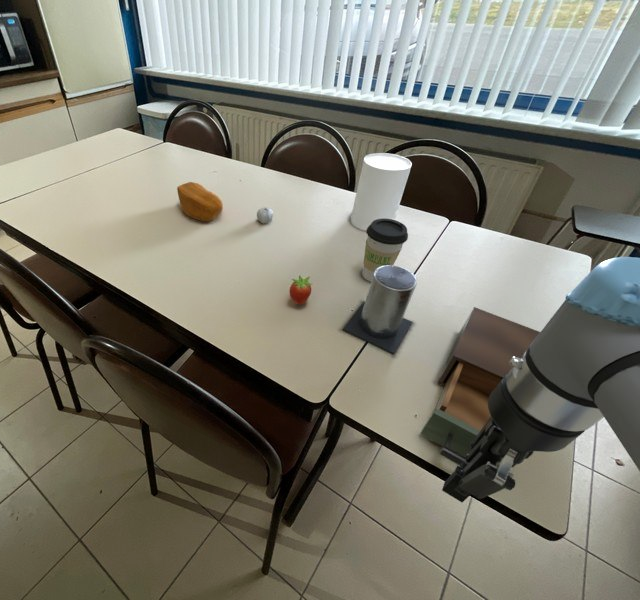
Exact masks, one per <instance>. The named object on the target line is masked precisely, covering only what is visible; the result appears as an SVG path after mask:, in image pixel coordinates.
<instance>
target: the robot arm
mask: <svg viewBox="0 0 640 600" xmlns="http://www.w3.org/2000/svg"><path fill="white" fill-rule="evenodd" d="M564 299H565V300H564V301H563V302H562V304H561V305H560V306H559V307H558V309H557V310H556V312H555V313H554V314H553V315H552V316H551V318H550V319H549V320H548V322H547V323H546V324H545V325H544V327H543V328H542V329H541V331H539V332H540V333H539V335H538V336H537V337H536V338H535V340H534V341H533V342H532V344H531V345H530V346H529V347H528V349H527V350H526V351H525V353H524V355H523V357H522V358H521V359H520V358H517V357H512V358H511V360H510V361H509V363H510V365H511V366H513V368H512V369H511V370H510V372H509V373H508V375H507V376H505V377H504V378H503V379H502V380H501V382H500V383H499V384H498V385H497V387H496V388H495V389H494V390H493V392H492V393H491V394H490V396H489V399H488V410H489V413H490V415H491V417H490V418H489V419H488V421H487V422H486V424H485V425H484V426H483V428H482V429H481V431H480V432H479V433H478V435H477V436H476V438H475V439H474V440H473V442H471V444H470V448H471V449H472V450H471V451H470V452H469V453H468V454H467V455H466V456H465V461H466V463H464V462H462V463H461V464H460V465H456V467H455V469H454V471H453V472H452V473H451V474H450V475H449V477H448V478H446V480H445V481H444V483H443V486H442V489H441V491H442V492H444V493H445V494H447V495H449V496H450V497H452V498H453V499H455V500H457V501H458V502H460V503H463V502H465V501H466V500H467V499H468V498H469V497H470V496H471V495H472V496H474V497H475V498H477V499H479V500H482V499H485V498H486V497H489V496H491V495H493V494H495V493H498V492H500V491H502V490H504V489H505V490H508V491H512V490H513V489H515V486H516V480H515V479H514V473H512V472H510V471H511V470H512V469H513V468H514V467H515V466H516V465H519V464H521V463H523V462H524V460H527V459H529V458H530V457H531V456H532V455H533V454H534V452H543V453H544V452H545V453H552V452H559V451H560V450H563V449H565V448H566V447H567V446H568V445H570V444H571V443H573V442H574V441H575V440H576V439H577V438H579V437H580V436H582V434H584V433H585V431H587V430H588V429H590V428H592V427H593V426H595V425H596V424H598V422H600V421H601V420H602V419H603V418H604V420H605V421H606V422H607V424H608V425H609V427H610V428H611V430H612V431H613V433H614V435H615V436H616V438H617V439H618V441H619V443H621V445H622V447H623V448H624V449H625V451H626V453H627V454H628V456H629V458H630V459H631V461H632V462H633V463H634V465H635V467H636V468H637V470H638V471H639V472H640V257H632V256H619V257H613V258H609V259H606V260H604V261H602V262H599V263H598V264H597V265H596V266H595V267H594V268H593V269H592V270H591V271H590V272H588V274H587V275H586V276H585V277H584V278H583V279H582V280H581V281H580V282H579V283H578V284H577V285H576V286H575V287H574V288H573V289H572V290H571V291H570V292H568V293H567V294H566V295H565V298H564Z"/></svg>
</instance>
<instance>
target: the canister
mask: <svg viewBox="0 0 640 600" xmlns="http://www.w3.org/2000/svg"><path fill="white" fill-rule="evenodd" d="M412 165H413V163H412V161H411V160H410V159H409V158H406V157H405V156H402V155H400V154H394V153H389V152H388V153H387V152H375V153H374V152H373V153H369V154H366V155H365V156H364V157H363V161H362V165H361V170H360V174H359V179H358V183H357V188H356V193H355V197H354V201H353V206H352V211H351V214H350V215H351V216H350V223H351V224H352V225H353V226H354V227H355V228H357V229H358V230H359V229H360V230H361V231H364V232H366V231H367V228H368V226H369V225H371V223H372V222H373V221H374V220H377V219H392V220H396V217H397V213H398V210H399V207H400V204H401V201H402V197H403V194H404V191H405V188H406V185H407V182H408V179H409V175H410V173H411V168H412Z"/></svg>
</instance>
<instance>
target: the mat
mask: <svg viewBox="0 0 640 600" xmlns="http://www.w3.org/2000/svg"><path fill="white" fill-rule="evenodd" d="M365 301H366V300H365ZM365 301H362V303H361V304H360V305H359V307H358V308H357V310H355V312H353V314H352V316H351V317H350V318H349V320H348V321H347V323H346V324H345V325H344V326H343V328H342V331H343V332H345V333H346V334H349V335H351V336H353V337H355V338H357V339H360V340H361V341H364V342H366V343H368V344H370V345H372V346H374V347H377V348H378V349H381V350H383V351H385V352H386V353H389V354H391V355H395V354H396V352H397V350H398V348H399V347H400V345H401V343H402V342H403V340H404V338H405V337H406V335H407V333H408V331H409V329H410V328H411V326H412V324H413V321H412V320H409V319H407V318H405V317H403V319H402V321H401V324H400V326H399V329H398V331H397V333H396V334H395V335H394V336H393V337H391V338H386V339H381V338H376V337H373V336H371V335H369V334H367V333H366V332H365V331H364V330H363V329H362V328H361V326H360V323H359V321H360V317H361V314H362V311H363V307H364V304H365Z"/></svg>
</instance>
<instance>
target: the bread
mask: <svg viewBox="0 0 640 600" xmlns="http://www.w3.org/2000/svg"><path fill="white" fill-rule="evenodd" d="M176 190H177V196H178V200H179V204H180V208H181V210H182V211H183V212H184V214H186V215H187V216H189V217H190V218H192V219H195V220H197V221H200V222H204V223H205V222H213V220H215V219H216V218H217V217H218V216H219V215H220V214H221V213H222V212H223V210H224V207H223V201H222V200H221V198H220V197H219V196H218V195H216V194H215V193H213V192H212V191H210V190H208V189H206V188H205V187H204V186H203V185H202V184H200V183H198V182H192V181H189V182H186V183H183V184H180V185H178V186H177V187H176Z"/></svg>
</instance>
